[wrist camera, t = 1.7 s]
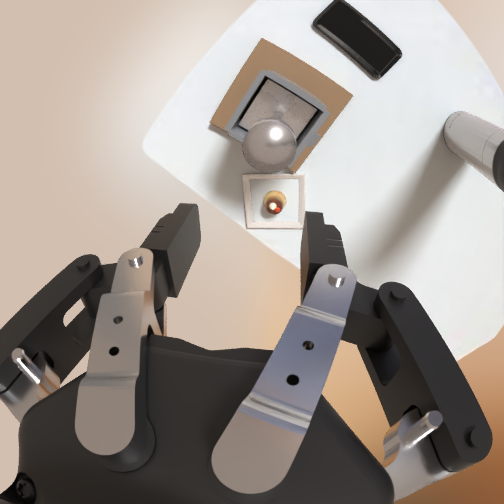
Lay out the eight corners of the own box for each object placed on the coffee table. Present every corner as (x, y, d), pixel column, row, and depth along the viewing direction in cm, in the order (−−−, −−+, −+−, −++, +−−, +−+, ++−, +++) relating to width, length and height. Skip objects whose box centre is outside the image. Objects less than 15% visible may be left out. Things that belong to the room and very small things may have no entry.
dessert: (304, 226, 60) (305, 238, 56) (247, 225, 62) (244, 238, 58) (305, 171, 53) (306, 181, 49) (242, 172, 55) (238, 181, 51)
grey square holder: (351, 94, 43) (375, 106, 30) (295, 170, 53) (296, 208, 40) (262, 38, 39) (251, 26, 26) (211, 120, 49) (183, 142, 36)
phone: (378, 80, 40) (310, 23, 35) (376, 80, 40) (310, 24, 36) (404, 53, 35) (338, -5, 31) (402, 53, 36) (337, -4, 32)
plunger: (316, 109, 35) (334, 137, 21) (286, 151, 39) (282, 205, 26) (268, 78, 33) (252, 85, 20) (239, 123, 37) (207, 161, 24)
